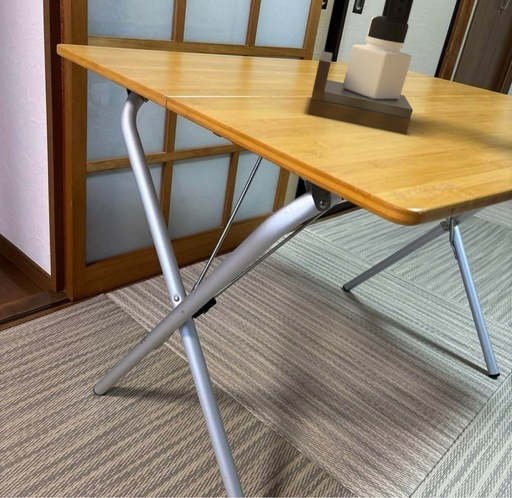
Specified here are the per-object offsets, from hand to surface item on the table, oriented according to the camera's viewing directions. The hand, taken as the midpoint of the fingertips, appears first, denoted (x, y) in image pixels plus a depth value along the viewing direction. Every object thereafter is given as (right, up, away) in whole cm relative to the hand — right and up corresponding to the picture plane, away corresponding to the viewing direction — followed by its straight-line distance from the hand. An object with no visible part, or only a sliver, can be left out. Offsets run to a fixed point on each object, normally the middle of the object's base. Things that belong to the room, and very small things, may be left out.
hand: (393, 21), depth 81 cm
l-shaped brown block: (-5, -13, +7) cm, 16 cm away
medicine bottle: (-2, -10, +6) cm, 12 cm away
